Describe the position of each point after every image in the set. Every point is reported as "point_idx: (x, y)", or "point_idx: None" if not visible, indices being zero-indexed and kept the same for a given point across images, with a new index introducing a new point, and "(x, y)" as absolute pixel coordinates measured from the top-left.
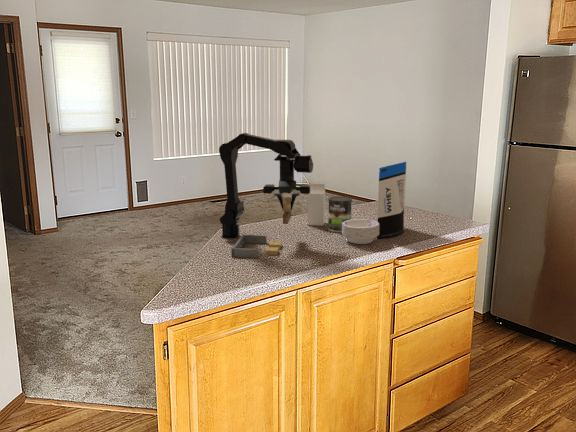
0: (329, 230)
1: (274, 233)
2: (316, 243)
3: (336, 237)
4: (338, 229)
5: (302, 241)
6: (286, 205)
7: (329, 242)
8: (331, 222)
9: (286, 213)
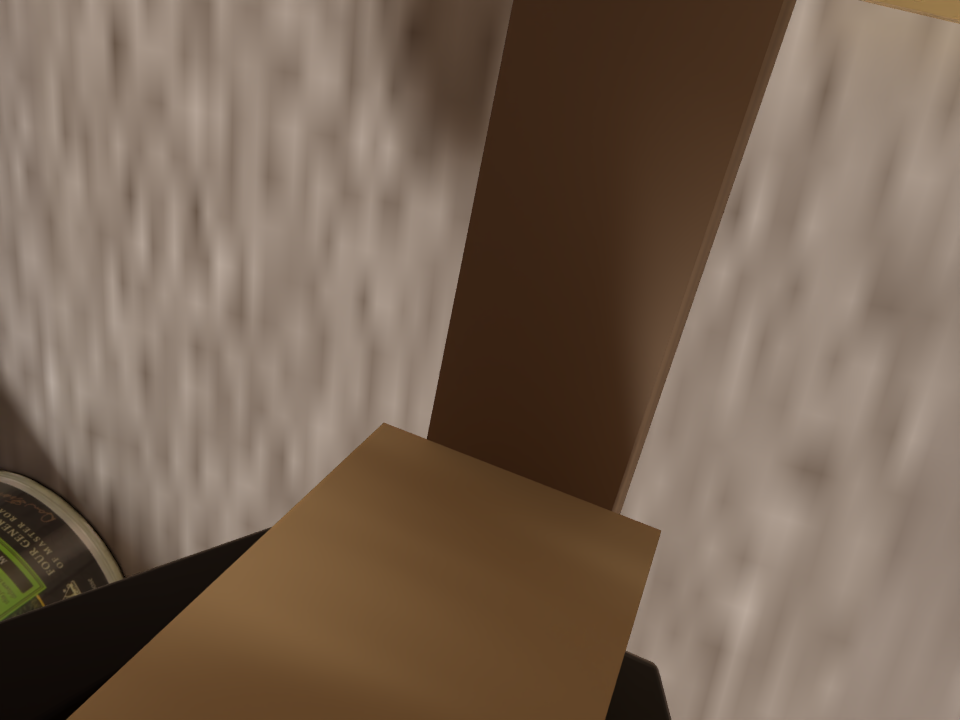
0: (119, 570)
1: (785, 717)
2: (257, 63)
3: (45, 301)
4: (12, 501)
5: (440, 210)
6: (408, 666)
7: (104, 90)
8: (17, 607)
9: (563, 245)
